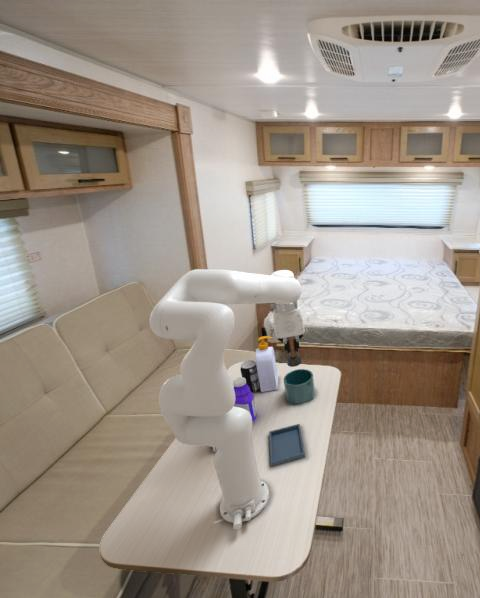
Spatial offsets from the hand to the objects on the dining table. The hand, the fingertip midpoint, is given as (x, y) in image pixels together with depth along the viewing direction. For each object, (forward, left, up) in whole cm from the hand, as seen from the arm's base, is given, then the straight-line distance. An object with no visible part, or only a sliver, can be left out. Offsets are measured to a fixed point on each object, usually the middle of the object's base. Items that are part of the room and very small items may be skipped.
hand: (292, 350), depth 126 cm
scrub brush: (0, 0, -6) cm, 6 cm away
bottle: (-4, +19, -23) cm, 30 cm away
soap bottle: (+15, +10, -23) cm, 30 cm away
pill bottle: (-14, +27, -23) cm, 38 cm away
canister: (+3, -1, -23) cm, 24 cm away
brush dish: (-22, +7, -23) cm, 33 cm away
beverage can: (+15, +17, -23) cm, 33 cm away
